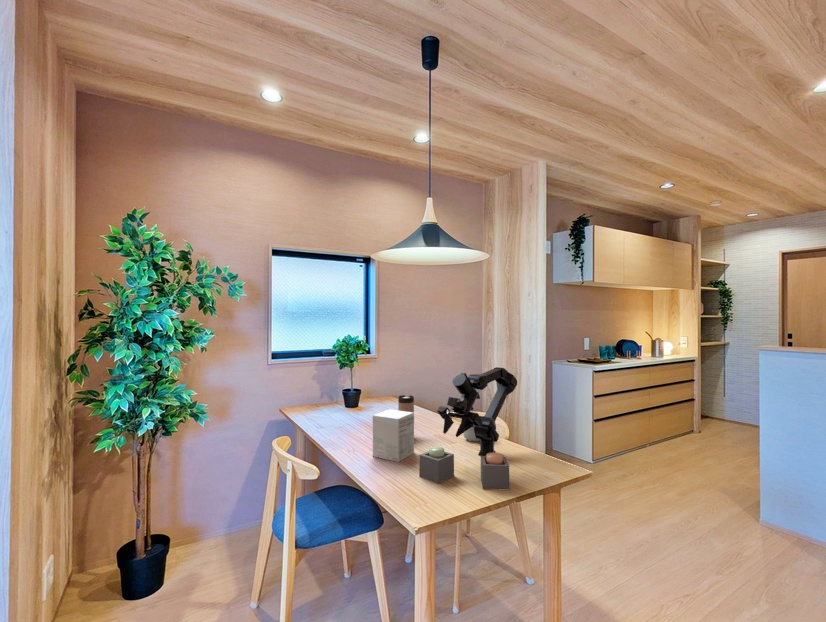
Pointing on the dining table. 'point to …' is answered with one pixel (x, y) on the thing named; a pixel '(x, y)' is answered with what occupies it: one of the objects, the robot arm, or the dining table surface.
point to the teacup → (470, 435)
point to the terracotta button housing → (494, 474)
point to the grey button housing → (436, 467)
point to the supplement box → (393, 434)
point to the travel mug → (406, 403)
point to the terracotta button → (494, 458)
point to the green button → (436, 452)
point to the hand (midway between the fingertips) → (450, 434)
